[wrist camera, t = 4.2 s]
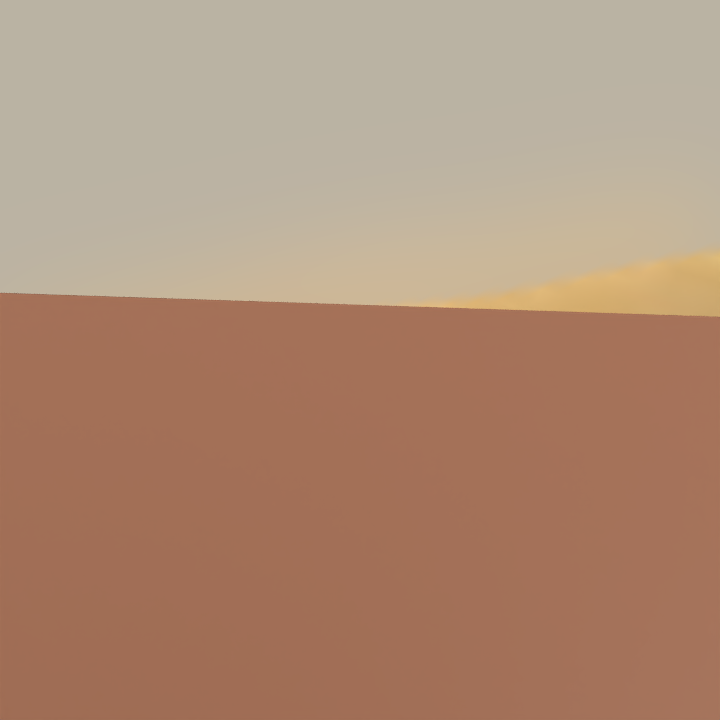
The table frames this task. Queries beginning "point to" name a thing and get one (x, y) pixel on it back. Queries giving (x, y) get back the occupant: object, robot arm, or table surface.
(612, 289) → the table surface
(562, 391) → the column
